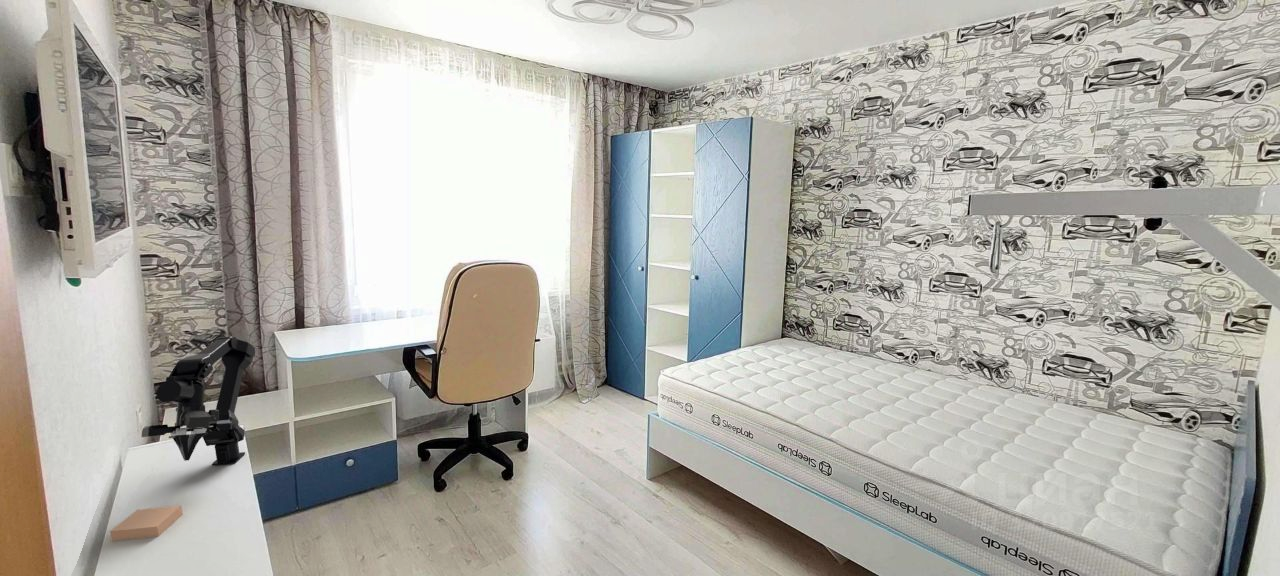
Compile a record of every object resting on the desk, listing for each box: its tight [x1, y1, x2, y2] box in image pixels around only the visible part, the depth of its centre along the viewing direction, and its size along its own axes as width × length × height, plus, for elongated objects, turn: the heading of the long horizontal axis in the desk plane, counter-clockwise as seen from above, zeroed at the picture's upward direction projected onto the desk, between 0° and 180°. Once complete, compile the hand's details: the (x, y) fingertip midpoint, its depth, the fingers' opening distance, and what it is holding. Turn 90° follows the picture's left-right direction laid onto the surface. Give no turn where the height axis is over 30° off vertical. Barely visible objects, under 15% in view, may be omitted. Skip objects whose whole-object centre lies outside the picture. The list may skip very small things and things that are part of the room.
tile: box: [109, 505, 184, 542], centre depth 134 cm, size 3×10×9 cm
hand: (186, 460), depth 148 cm, fingers closed
